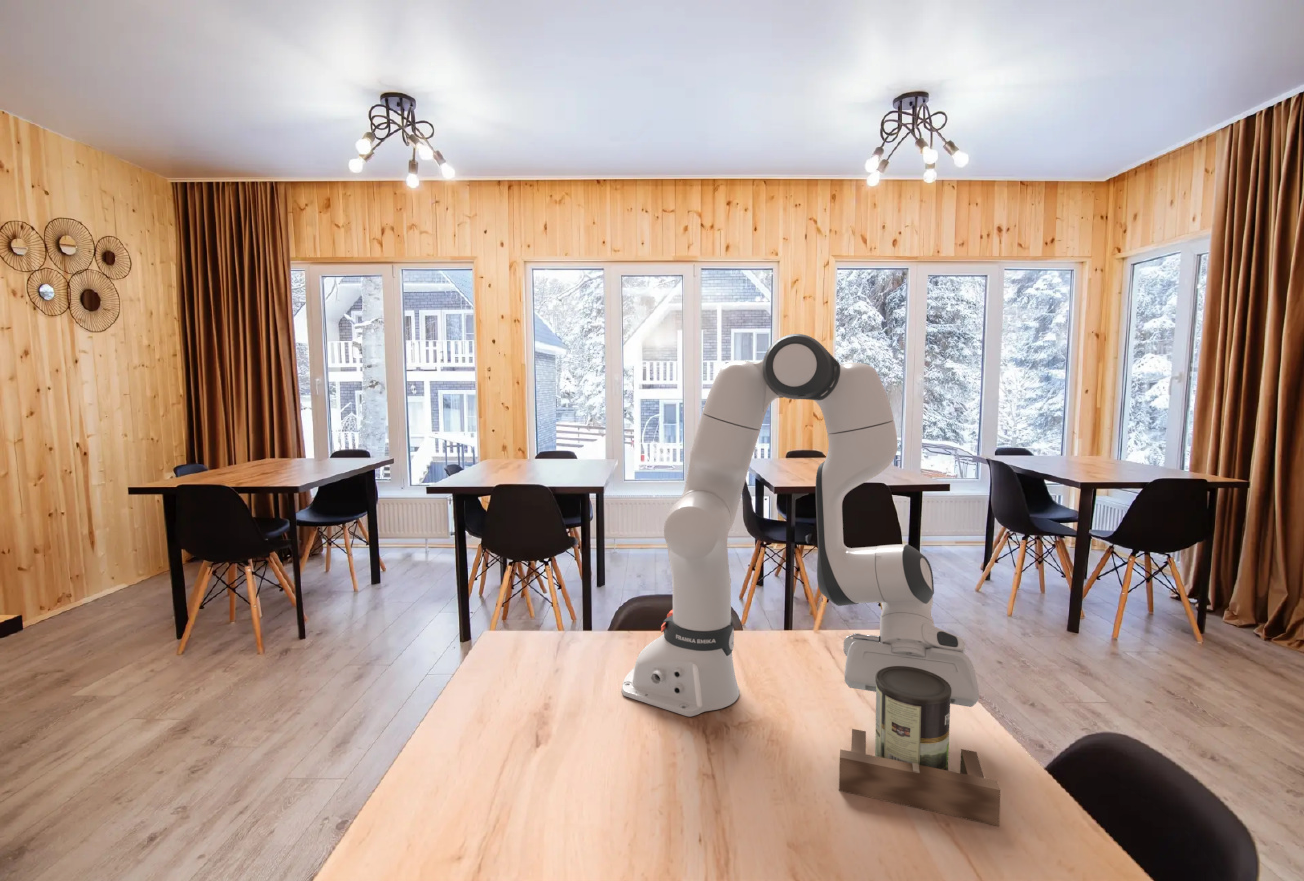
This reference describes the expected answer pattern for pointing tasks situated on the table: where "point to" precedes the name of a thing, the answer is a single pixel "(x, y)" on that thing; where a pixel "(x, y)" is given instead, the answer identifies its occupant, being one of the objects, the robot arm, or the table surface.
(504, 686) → the table surface
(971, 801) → the walnut rail
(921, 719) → the coffee can
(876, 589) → the robot arm
